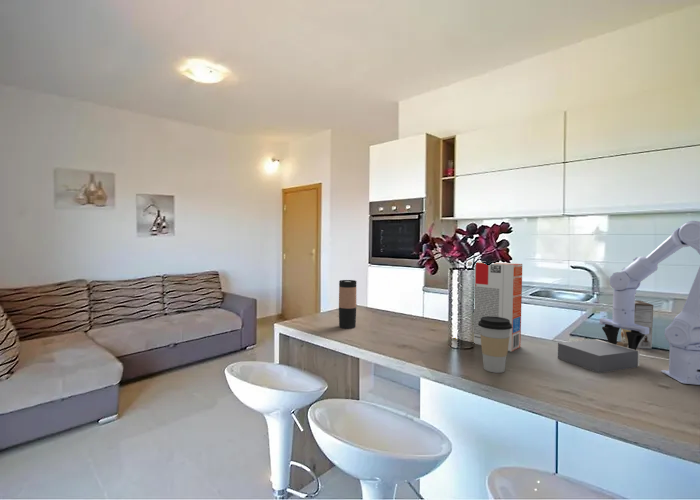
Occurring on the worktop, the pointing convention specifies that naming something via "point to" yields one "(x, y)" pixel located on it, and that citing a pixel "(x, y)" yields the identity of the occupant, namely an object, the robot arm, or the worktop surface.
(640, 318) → the coffee box
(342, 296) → the travel mug
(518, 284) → the pasta box
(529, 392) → the worktop surface
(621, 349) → the sleeve
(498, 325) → the coffee cup
